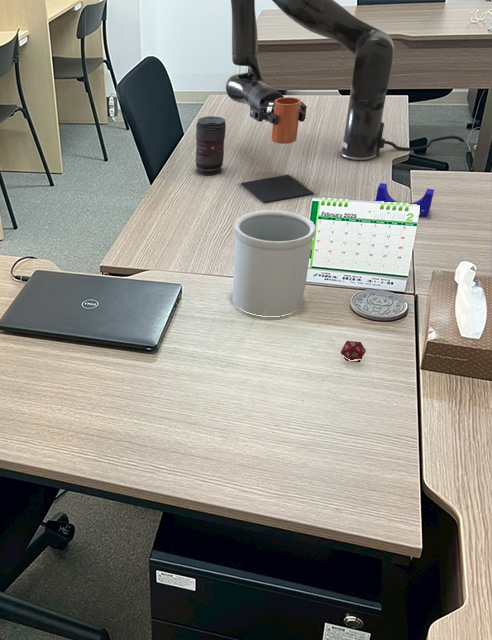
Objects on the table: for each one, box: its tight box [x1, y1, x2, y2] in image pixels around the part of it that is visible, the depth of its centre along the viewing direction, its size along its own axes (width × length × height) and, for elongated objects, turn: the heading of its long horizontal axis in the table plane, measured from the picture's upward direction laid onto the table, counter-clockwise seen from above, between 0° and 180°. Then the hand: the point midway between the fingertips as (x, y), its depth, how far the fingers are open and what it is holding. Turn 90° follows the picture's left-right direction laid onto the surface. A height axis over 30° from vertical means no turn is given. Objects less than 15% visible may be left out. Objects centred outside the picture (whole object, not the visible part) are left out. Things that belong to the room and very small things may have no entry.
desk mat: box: [240, 174, 315, 204], centre depth 191 cm, size 14×14×1 cm
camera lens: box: [195, 115, 227, 176], centre depth 202 cm, size 8×8×15 cm
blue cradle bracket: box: [374, 182, 435, 219], centre depth 171 cm, size 12×4×6 cm, turn 58°
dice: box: [340, 340, 367, 363], centre depth 125 cm, size 4×4×4 cm
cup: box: [270, 96, 302, 145], centre depth 181 cm, size 6×6×10 cm
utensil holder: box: [232, 209, 316, 321], centre depth 140 cm, size 15×15×18 cm
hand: (289, 119), depth 178 cm, fingers closed on cup, 6 cm apart
